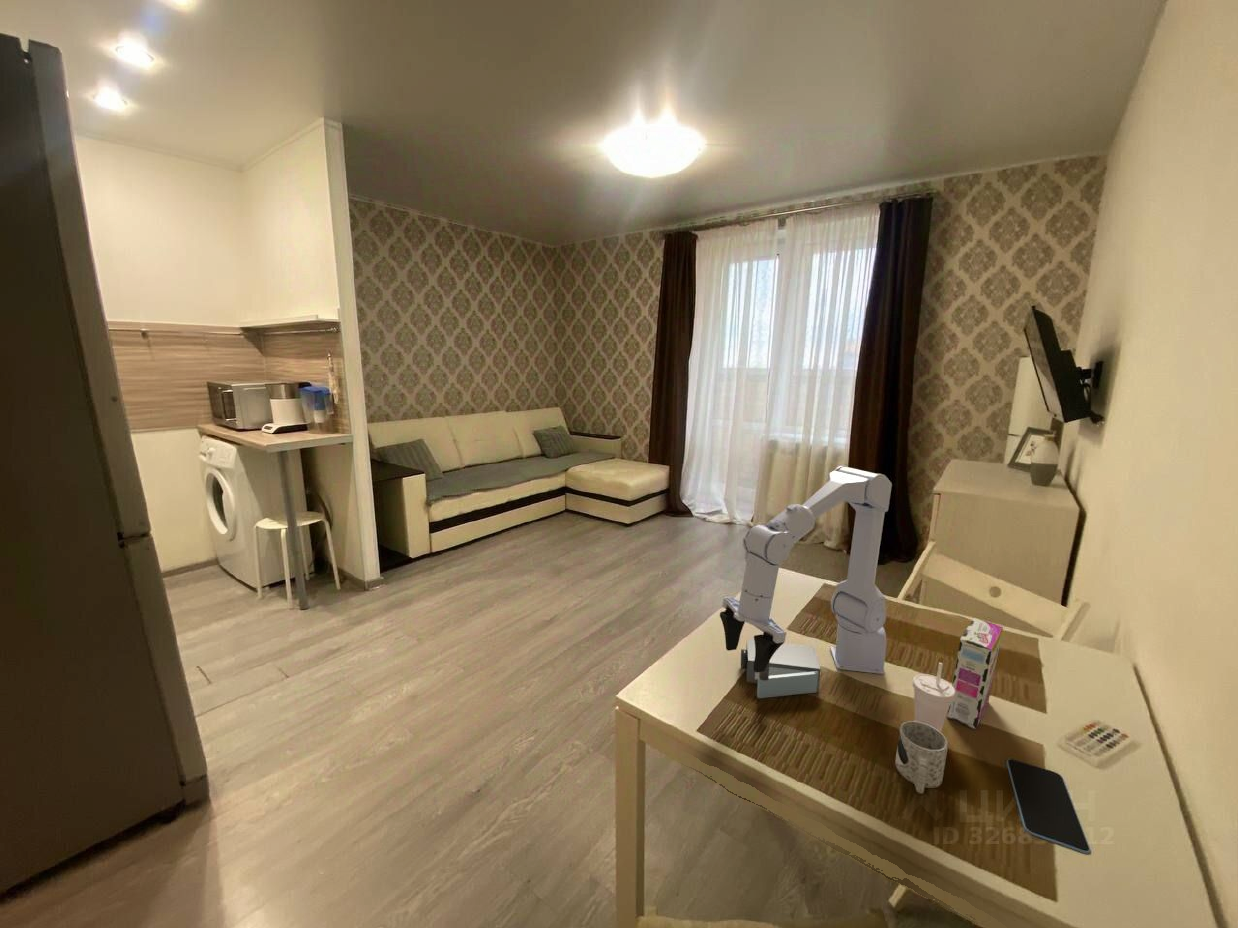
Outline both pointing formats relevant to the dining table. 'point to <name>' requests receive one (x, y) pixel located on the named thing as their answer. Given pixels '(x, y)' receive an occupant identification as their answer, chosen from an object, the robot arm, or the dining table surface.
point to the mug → (921, 754)
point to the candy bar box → (974, 672)
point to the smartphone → (1046, 806)
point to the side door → (786, 683)
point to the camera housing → (782, 660)
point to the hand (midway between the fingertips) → (744, 659)
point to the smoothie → (932, 698)
